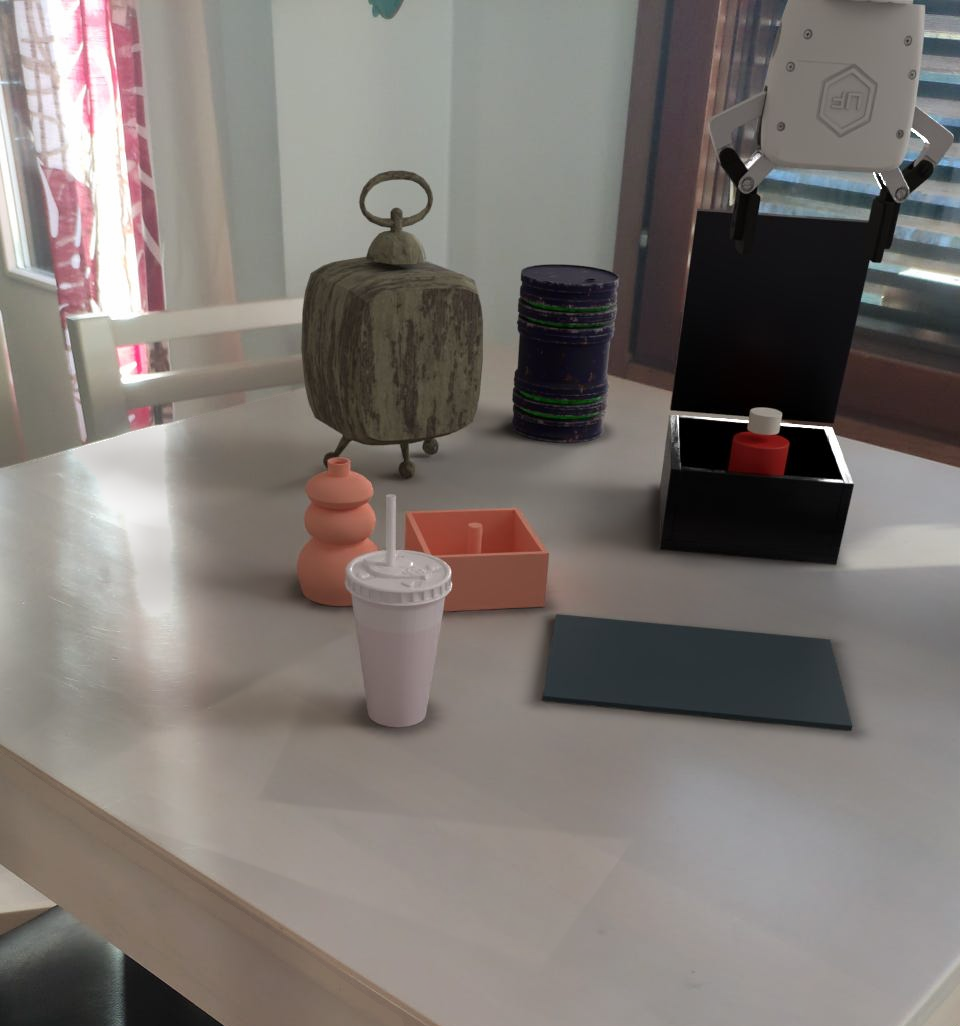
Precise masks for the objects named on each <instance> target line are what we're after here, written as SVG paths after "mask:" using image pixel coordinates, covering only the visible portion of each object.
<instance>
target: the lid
mask: <svg viewBox="0 0 960 1026" xmlns="http://www.w3.org/2000/svg"><path fill="white" fill-rule="evenodd" d="M732 214H733V210H725V209H711V208H696V214H695V221H694V227H693V228H694V229H693V236H692V243H691V251H690V258H689V265H688V273H687V279H686V287H685V295H684V302H683V308H682V309H683V310H682V318H681V325H680V333H679V339H678V347H677V354H676V362H675V367H674V368H675V369H674V376H673V385H672V391H671V399H670V405H669V410H670V411H671V412H683V413H684V412H685V413H696V414H697V413H698V414H710V415H722V416H735V417H745V418H746V417H748V418H749V414H750V410H751V409H753V408H771V409H775V410H778V411H780V412H782V419H781V421H784V420H785V421H797V422H807V423H819V424H820V423H821V424H833V425H834V424H835V419H836V416H837V411H838V408H839V407H838V406H839V402H840V398H841V393H842V389H843V384H844V380H845V375H846V370H847V365H848V361H849V357H850V353H851V349H852V343H853V338H854V334H855V331H856V325H857V321H858V316H859V312H860V307H861V302H862V298H863V294H864V288H865V284H866V279H867V276H868V271H869V267H870V262H871V261H870V260H869V259H868V258H866V257H865V256H864V255H863V254H862V249H863V245H864V240H865V235H866V230H867V226H868V221H869V219H855V218H840V217H825V216H812V215H800V214H799V215H797V214H784V213H771V212H770V213H769V212H758V219H757V225H756V231H755V237H754V243H753V249H752V253H749V255H741V254H740V253H739V252H738V251H737V250H736V249H735V242H736V240H731V239H730V227H731V221H732Z"/></svg>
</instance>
